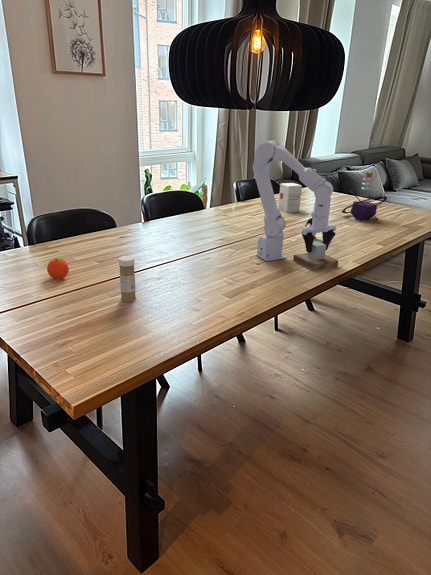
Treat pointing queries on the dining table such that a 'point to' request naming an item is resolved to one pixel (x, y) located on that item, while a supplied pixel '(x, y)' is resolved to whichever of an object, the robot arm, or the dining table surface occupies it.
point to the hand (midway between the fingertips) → (316, 250)
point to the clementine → (58, 268)
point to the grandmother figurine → (310, 223)
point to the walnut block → (315, 262)
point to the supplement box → (289, 197)
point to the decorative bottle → (364, 203)
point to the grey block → (317, 251)
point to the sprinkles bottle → (127, 278)
